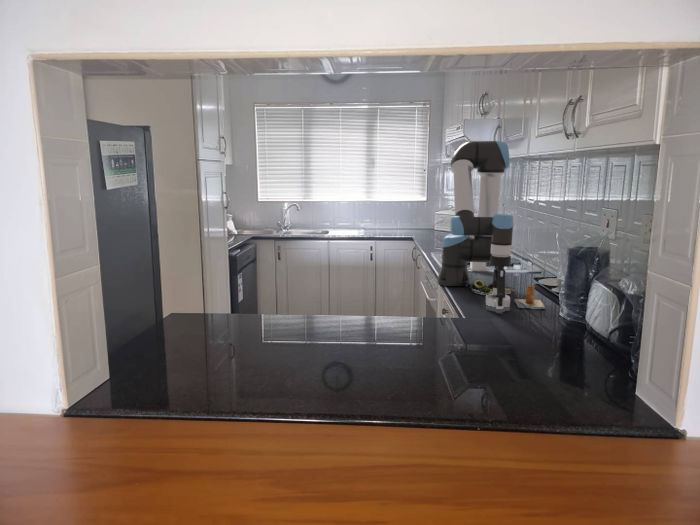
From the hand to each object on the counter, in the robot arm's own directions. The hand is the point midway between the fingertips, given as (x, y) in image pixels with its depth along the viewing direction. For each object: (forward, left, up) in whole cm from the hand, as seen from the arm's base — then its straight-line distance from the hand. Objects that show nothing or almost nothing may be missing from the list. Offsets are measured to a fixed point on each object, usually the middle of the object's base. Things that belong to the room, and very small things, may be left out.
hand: (497, 308), depth 196 cm
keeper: (+13, +7, 0) cm, 15 cm away
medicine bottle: (-3, +71, 0) cm, 71 cm away
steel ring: (0, 0, 0) cm, 0 cm away
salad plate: (-1, +27, -1) cm, 27 cm away
